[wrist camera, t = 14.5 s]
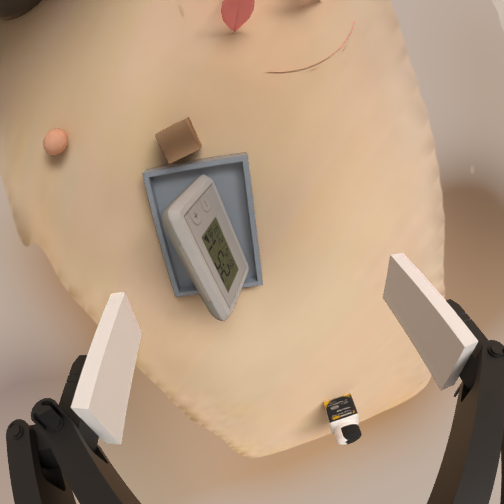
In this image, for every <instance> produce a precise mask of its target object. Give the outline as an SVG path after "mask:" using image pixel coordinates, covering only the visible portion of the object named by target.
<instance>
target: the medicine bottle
mask: <svg viewBox="0 0 504 504" xmlns="http://www.w3.org/2000/svg"><path fill="white" fill-rule="evenodd" d="M324 407H325V410H326V414H327V417H328V421H329V424H330V427H331V431H332V433H333V434H335V435H336V439H337V442H338V443H339V444H341V445H342V444H343V445H345V444H350V443H353V442H355V441H356V440H358V439H359V438H360V437H361V431H360V429H359V426H358V425H359V422H358V412H357V410H356V407H355V404H354V402H353V399H352V396H351V394H350V393H347V394H344V395H341V396H339V397H336V398H333V399H330V400H327V401H324Z"/></svg>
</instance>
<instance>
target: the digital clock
mask: <svg viewBox="0 0 504 504" xmlns="http://www.w3.org/2000/svg"><path fill="white" fill-rule="evenodd" d="M162 223H163V225H164V228H165V230H166V232H167V234H168V236H169V238H170V240H171V242H172V244H173V246H174V248H175V249H176V251H177V253H178V255H179V257H180V259H181V261H182V263H183V265H184V266H185V268H186V270H187V272H188V274H189V276H190V278H191V279H192V281H193V283H194V285H195V287H196V289H197V290H198V292H199V294H200V296H201V298H202V299H203V301H204V303H205V305H206V306H207V308H208V310H209V311H210V313H211V314H212V316H214V317H215V318H216V319H218V320H220V321H225V320H226V319H227V318H228V317H229V316H230V315H231V313H232V311H233V309H234V307H235V304H236V302H237V299H238V296H239V294H240V291H241V289H242V286H243V284H244V281H245V279H246V276H247V273H248V269H249V267H248V263H247V261H246V258H245V256H244V253H243V251H242V249H241V246H240V244H239V241H238V239H237V236H236V234H235V232H234V229H233V227H232V224H231V222H230V220H229V217H228V215H227V212H226V210H225V207H224V205H223V203H222V200H221V198H220V195H219V193H218V190H217V188H216V186H215V183H214V181H213V180H212V178H210V177H208V176H206V175H201V176H199V177H197V178H196V179H195V180H194V181H193V182H192V183H191V184H190V185H189V186H188V187H187V188H186V189H185V190H184V191H183V192H182V193H181V194H180V195H179V196H178V197H177V198H176V199H175V200H174V201H173V202H172V203H171V204H170V205H169V206H168V207H167V208H166V209H165V211H164V212H163V215H162Z"/></svg>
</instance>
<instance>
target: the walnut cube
mask: <svg viewBox="0 0 504 504" xmlns="http://www.w3.org/2000/svg"><path fill="white" fill-rule="evenodd" d="M155 137H156V139H157V141H158V143H159V145H160V147H161V149H162V151H163V153H164V155H165V157H166V159H167V161H168V163H169V164H171V163H173V162H175V161H177V160H179V159H181V158H183V157H185V156H187V155H189V154H191V153H193V152H196V151H198V150H200V147H201V145H202V144H201V142H200V140H199V138H198V136H197V134H196V132H195V129H194V127H193V125H192V123H191V121H190V119H189V117H188V118H186V119H184V120H182V121H180V122H178V123H176V124H174V125H172V126H170V127H168V128H166V129H164V130H162V131H160V132H158V133H157V134H155Z"/></svg>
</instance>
